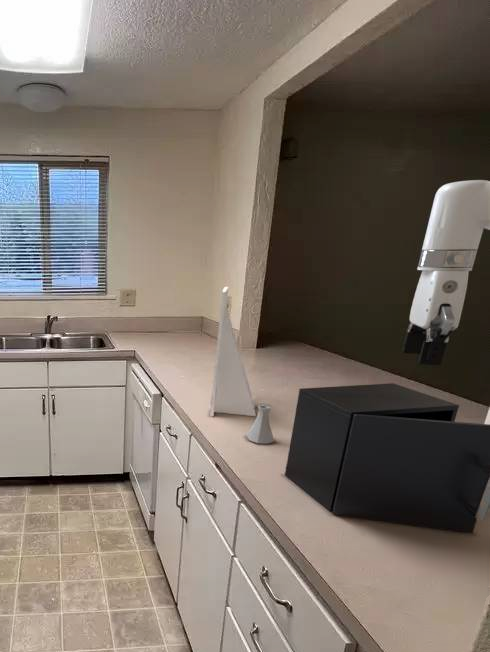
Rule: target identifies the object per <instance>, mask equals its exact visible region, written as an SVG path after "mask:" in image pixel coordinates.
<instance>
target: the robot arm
mask: <svg viewBox="0 0 490 652" xmlns="http://www.w3.org/2000/svg"><path fill="white" fill-rule="evenodd" d="M484 229H485V230H488V231H490V180H485V179H472V180H460V181H453V182H448V183H445V184H444V185H441V186H440V187H439V188H438V190H437V191H436V193H435V195H434V199H433V203H432V207H431V211H430V215H429V219H428V224H427V228H426V232H425V236H424V239H423V244H422V247H421V251H420V256H419V260H418V264H417V268H416V270H417V271H421V274H420V277H419V279H418V283H417V286H416V290H415V292H414V296H413V300H412V303H411V308H410V313H409V322H410V323H409V325H408V327H407V332H406V335H405V339H404V344H403V348H402V353H404V354H411V355H412V354H414V355H419V358H418V364H420V365H427V366H428V365H429V366H440V365H442V363H443V359H444V355H445V352H446V348H447V344H448V343H449V340H450V335H451V334H452V331H454V330H456V329H457V328H458V327H459V324H460V322H461V321H460V320H461V316H462V311H463V308H464V304H465V303H464V302H465V299H466V294H467V290H468V282H469V281H468V280H469V272H472V270H473V267H474V264H475V260H476V257H477V253H478V250H479V245H480V243H481V239H482V235H483V232H484Z"/></svg>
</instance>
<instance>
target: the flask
mask: <svg viewBox="0 0 490 652" xmlns="http://www.w3.org/2000/svg"><path fill="white" fill-rule="evenodd" d="M257 408H258V411H257V415H256V419H255V420H254V422H253V424H252V426H251V427H250V429H249V431H248V432H247V434H246V438H247V439H248V440H249V441H250V442H253V443H256V444H265V445H266V444H271V443H273V442H275V439H274V436H273V435H274V434H273V431H272V428H271V423H270V411H271V409H272V407H271V406H269V405H265V404H261V405H258V406H257Z"/></svg>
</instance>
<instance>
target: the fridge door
mask: <svg viewBox="0 0 490 652" xmlns="http://www.w3.org/2000/svg"><path fill="white" fill-rule="evenodd" d="M489 511H490V424H487V423H478V422H477V423H476V422H475V423H474V422H465V421H464V422H463V421H454V422H451V421H439V420H426V419H413V418H401V417H388V416H375V415H363V414H353V419H352V424H351V428H350V433H349V437H348V442H347V446H346V451H345V455H344V460H343V464H342V469H341V474H340V478H339V483H338V487H337V492H336V496H335V501H334V505H333V510H332V511H331V513H332V515H336V516H343V517H350V518H358V519H366V520H371V521H372V520H373V521H379V522H387V523H395V524H403V525H410V526H419V527H423V528H431V529H432V528H433V529H438V530H439V529H441V530H448V531H455V532H463V533H471V534H473V532H474V529H475V527H476V524H477V521H486V519H487V516H488V513H489Z"/></svg>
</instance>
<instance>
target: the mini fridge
mask: <svg viewBox="0 0 490 652" xmlns="http://www.w3.org/2000/svg"><path fill="white" fill-rule="evenodd" d="M298 389H299V390H298V396H297V401H296V408H295V413H294V420H293V426H292V432H291V437H290V441H289V442H290V443H289V447H288V448H289V449H288V453H287V454H288V455H287V460H286V465H285V472H284V476H285V477H286V478H287V479H289V480H290V481H291V482H292V483H293V484H294V485H296V486H297V487H299V488H300V489H301V490H302V491H303V492H305V493H306V494H308V496H310V497H311V498H312V499H313V500H315V501H316V502H317V503H319V504H320V505H321V506H322V507H323V508H325V509H326V510H327V511H328V512H331V513H332V510H333V505H334V501H335V496H336V492H337V487H338V483H339V478H340V474H341V469H342V464H343V460H344V455H345V451H346V446H347V442H348V437H349V433H350V428H351V424H352V419H353V414H363V415H375V416H388V417H401V418H413V419H426V420H439V421H451V422H456V417H457V414H458V411H459V408H460V404H456V403H454V402H451V401H448V400H445V399H443V398H439V397H436V396H433V395H430V394H427V393H424V392H421V391H418V390H415V389H412V388H410V387H406V386H403V385H400V384H397V383H394V382H392V383H391V382H390V383H375V384H374V383H373V384H358V385H342V386H341V385H339V386H322V387H321V386H320V387H319V386H318V387H305V388H303V387H302V388H298Z"/></svg>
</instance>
